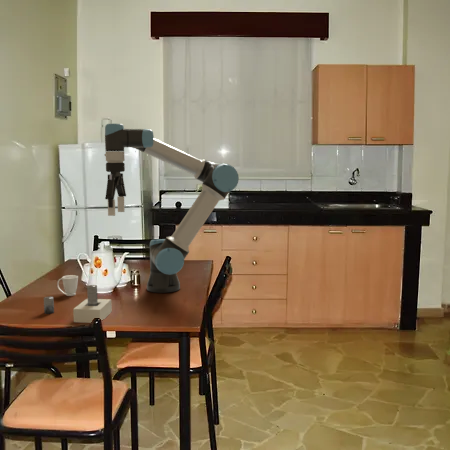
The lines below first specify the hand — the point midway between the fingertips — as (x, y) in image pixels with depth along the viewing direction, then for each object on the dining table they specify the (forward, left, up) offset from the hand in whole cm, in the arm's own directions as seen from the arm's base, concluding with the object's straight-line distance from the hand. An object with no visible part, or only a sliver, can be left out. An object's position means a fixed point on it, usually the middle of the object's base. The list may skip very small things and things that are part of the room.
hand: (116, 213), depth 223 cm
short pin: (+22, +20, -37) cm, 47 cm away
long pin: (+3, +24, -37) cm, 44 cm away
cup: (+25, -7, -37) cm, 45 cm away
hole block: (+3, +24, -37) cm, 44 cm away
